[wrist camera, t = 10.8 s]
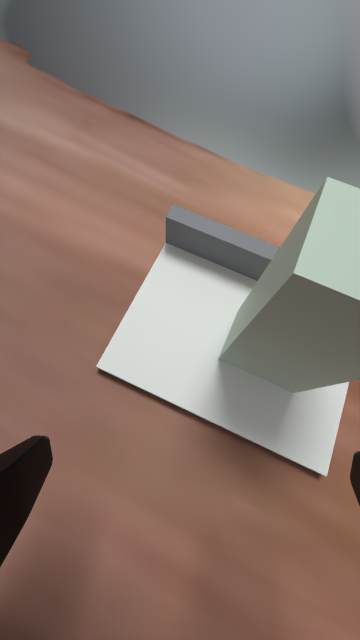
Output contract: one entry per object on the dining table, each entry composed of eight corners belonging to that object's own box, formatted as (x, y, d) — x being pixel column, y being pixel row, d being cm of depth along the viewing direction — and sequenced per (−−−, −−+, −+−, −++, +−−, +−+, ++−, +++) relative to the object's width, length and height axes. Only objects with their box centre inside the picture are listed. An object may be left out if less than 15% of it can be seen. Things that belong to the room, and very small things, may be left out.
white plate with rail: (359, 311, 22) (397, 290, 18) (319, 474, 18) (358, 487, 14) (173, 234, 23) (175, 201, 20) (98, 368, 20) (83, 357, 16)
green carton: (310, 338, 20) (496, 235, 9) (294, 393, 19) (488, 352, 8) (239, 307, 21) (329, 172, 9) (218, 358, 19) (293, 273, 8)
